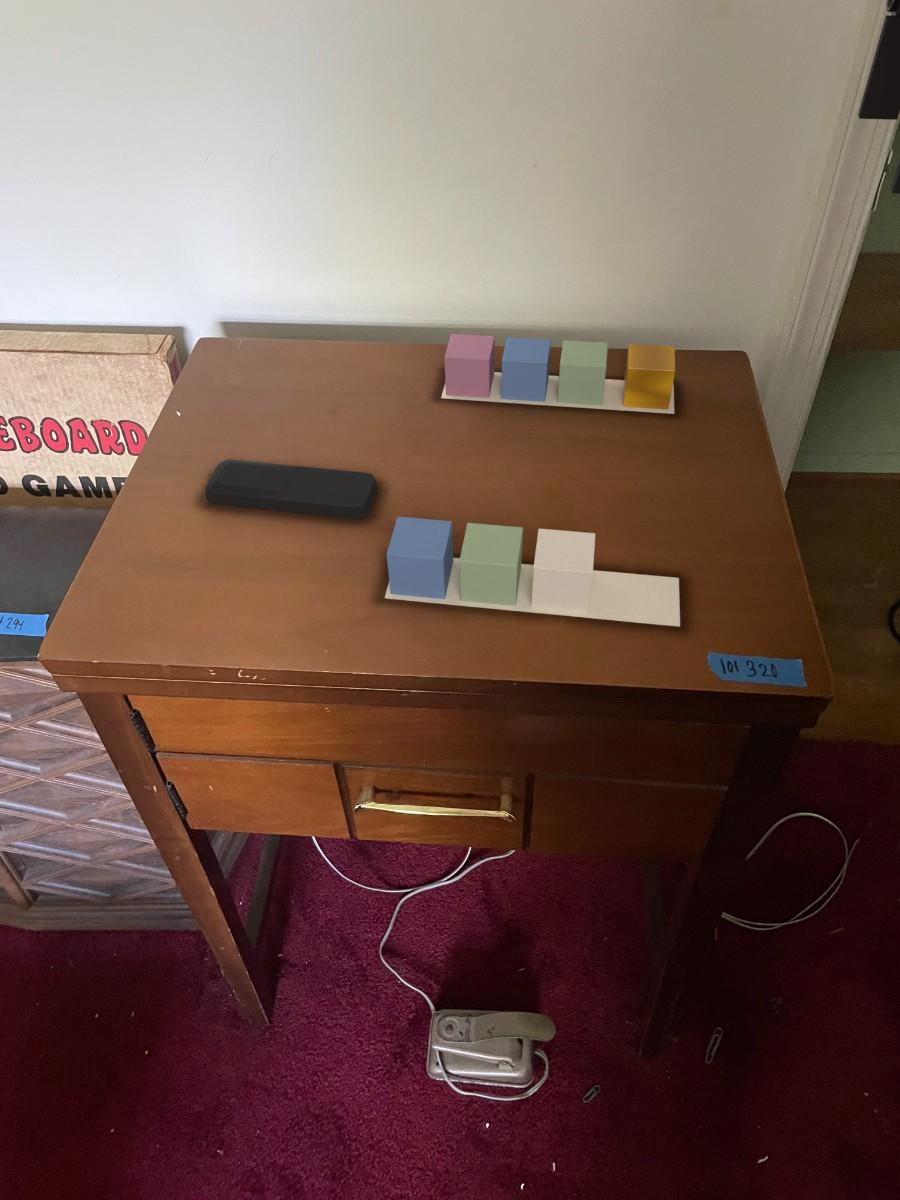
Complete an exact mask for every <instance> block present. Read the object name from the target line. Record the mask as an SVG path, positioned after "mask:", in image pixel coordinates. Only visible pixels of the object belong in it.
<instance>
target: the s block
mask: <svg viewBox="0 0 900 1200" xmlns="http://www.w3.org/2000/svg"><path fill="white" fill-rule="evenodd" d="M675 350H676V349H675V346H672V345H671V346H670V345H658V344H657V345H655V344H642V343H641V344H639V343H629V344H628V349H627V356H626V362H625V363H626V364H625V371H624V379H623V380H624V392H623V406H624V407H637V408H652V409H669V403H670V397H671V392H672V386H673V383H674V382H675V381H674V380H675V374H676V351H675Z"/></svg>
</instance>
